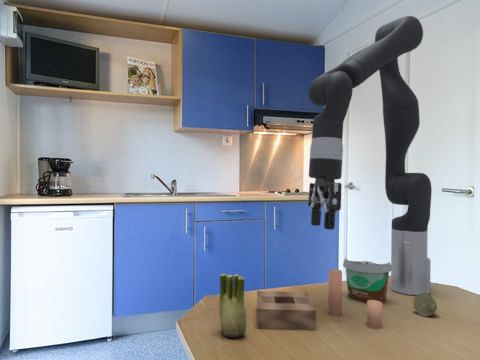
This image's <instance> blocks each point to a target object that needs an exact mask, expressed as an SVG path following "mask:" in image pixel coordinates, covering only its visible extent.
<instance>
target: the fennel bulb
mask: <svg viewBox="0 0 480 360" xmlns="http://www.w3.org/2000/svg"><path fill="white" fill-rule="evenodd" d="M219 288H220V289H219V291H220V292H219V305H218V306H219V320H220V321H219V322H220V328H221V330H222V334H223V335H224V336H225V337H228V338H238V337H240V336H242V335H244V334H245V332H246V331H247V312H246V306H245V278H244V277H243V276H240V275H239V274H234V275H233V274H226V273H221V274H220V275H219Z"/></svg>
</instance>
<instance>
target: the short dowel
mask: <svg viewBox="0 0 480 360" xmlns="http://www.w3.org/2000/svg"><path fill="white" fill-rule="evenodd" d="M366 326H367V327H369V328H371V329H381V328H382V327H383V302H380V301H377V300H368V301H367V303H366Z"/></svg>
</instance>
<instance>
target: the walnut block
mask: <svg viewBox="0 0 480 360" xmlns="http://www.w3.org/2000/svg"><path fill="white" fill-rule="evenodd" d="M256 296H257V297H256V312H257V313H256V314H257V315H256V316H257V317H256V318H257V329H267V330H268V329H275V330H276V329H279V330H307V331H308V330H309V331H310V330H312V331H313V330H314V331H316V329H317V328H316V327H317V323H316V322H317V310H316V308H315V306H314V303H313V301H312V299H311V297H310V296H309V293H308V292H307V291H281V290H280V291H279V290H277V291H276V290H272V291H271V290H268V291H267V290H257V292H256Z"/></svg>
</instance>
